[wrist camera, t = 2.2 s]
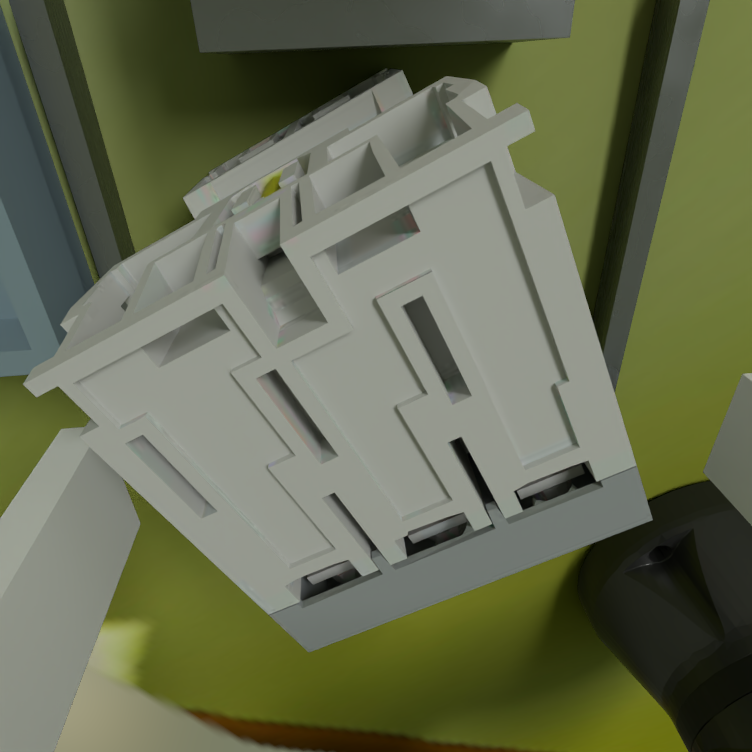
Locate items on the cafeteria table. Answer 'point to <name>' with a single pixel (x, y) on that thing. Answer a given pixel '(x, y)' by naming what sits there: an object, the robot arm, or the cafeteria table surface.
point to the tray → (32, 231)
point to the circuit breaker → (360, 365)
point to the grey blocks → (385, 30)
